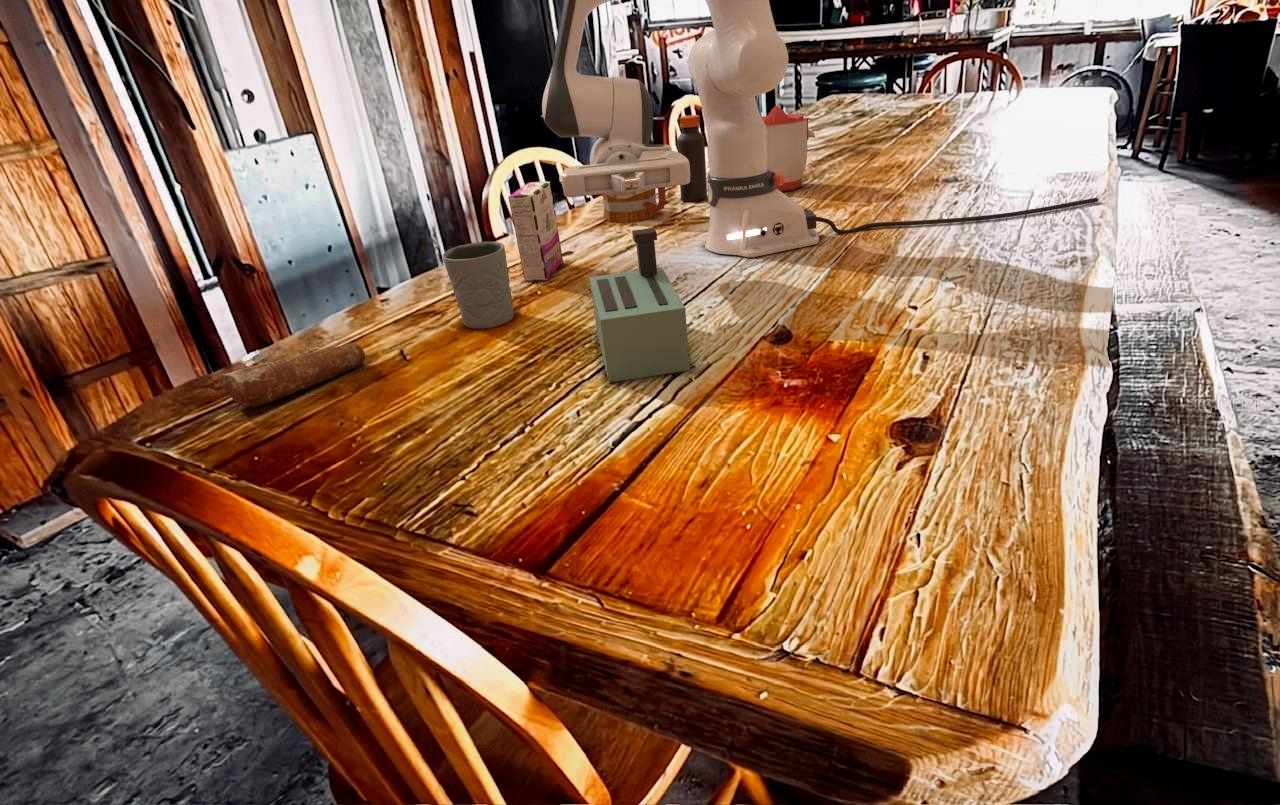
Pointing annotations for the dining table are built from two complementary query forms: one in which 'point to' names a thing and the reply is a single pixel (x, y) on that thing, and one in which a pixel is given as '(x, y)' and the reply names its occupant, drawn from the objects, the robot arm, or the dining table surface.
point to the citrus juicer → (787, 146)
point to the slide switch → (646, 250)
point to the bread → (289, 374)
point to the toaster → (639, 325)
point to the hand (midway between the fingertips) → (631, 185)
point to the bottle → (693, 158)
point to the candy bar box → (536, 230)
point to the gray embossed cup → (480, 283)
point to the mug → (633, 206)
